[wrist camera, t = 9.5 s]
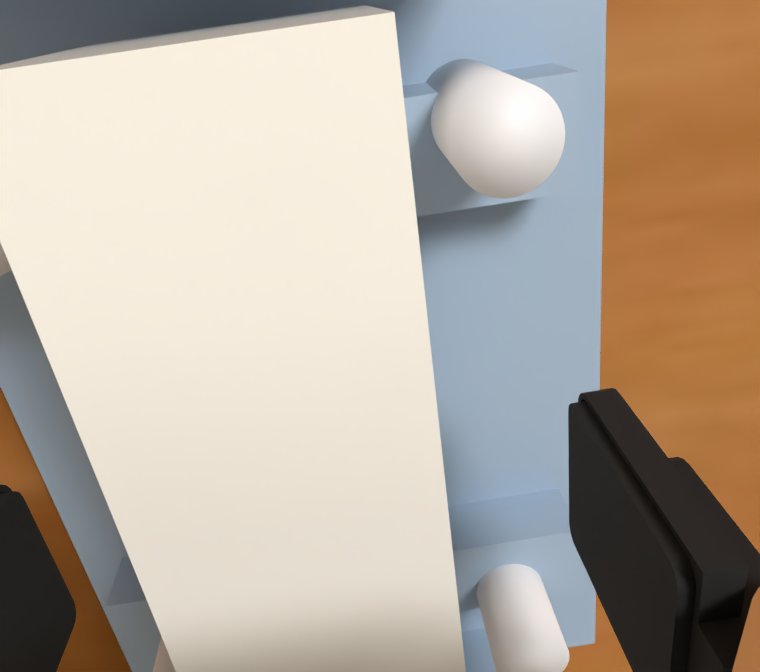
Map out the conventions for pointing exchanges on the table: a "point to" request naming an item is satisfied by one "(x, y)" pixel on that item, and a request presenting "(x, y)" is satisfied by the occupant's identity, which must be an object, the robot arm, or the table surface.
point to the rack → (442, 293)
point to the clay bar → (244, 332)
